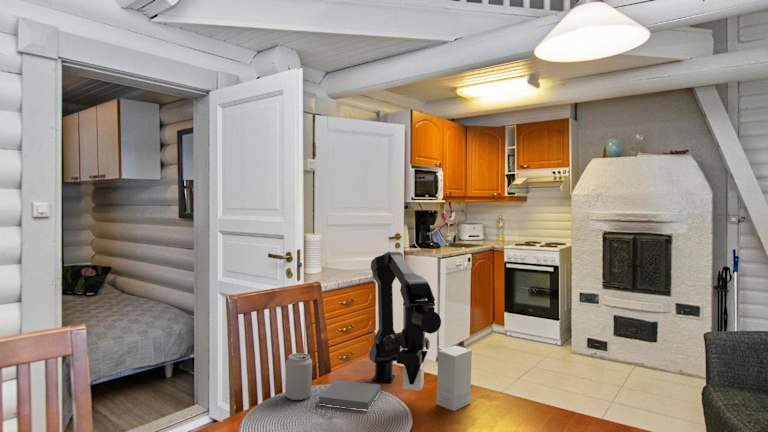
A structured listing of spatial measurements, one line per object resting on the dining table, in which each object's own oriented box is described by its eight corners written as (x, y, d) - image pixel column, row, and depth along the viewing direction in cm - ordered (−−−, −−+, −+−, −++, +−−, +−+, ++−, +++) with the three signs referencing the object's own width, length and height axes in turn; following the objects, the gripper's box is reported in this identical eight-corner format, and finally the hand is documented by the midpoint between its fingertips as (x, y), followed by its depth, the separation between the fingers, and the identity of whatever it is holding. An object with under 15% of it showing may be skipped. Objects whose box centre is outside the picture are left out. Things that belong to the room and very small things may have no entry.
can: (305, 403, 130) (306, 360, 130) (280, 400, 131) (281, 358, 131) (314, 393, 137) (316, 352, 137) (291, 391, 138) (292, 350, 138)
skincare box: (453, 397, 137) (454, 344, 137) (472, 404, 132) (473, 349, 132) (435, 405, 131) (436, 349, 131) (454, 412, 126) (455, 355, 126)
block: (406, 382, 132) (406, 361, 132) (423, 384, 131) (424, 363, 131) (402, 388, 127) (403, 366, 127) (420, 390, 126) (421, 368, 126)
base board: (336, 387, 142) (336, 379, 142) (380, 393, 138) (380, 384, 138) (318, 405, 128) (319, 396, 128) (367, 411, 125) (367, 402, 125)
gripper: (393, 316, 140) (392, 367, 140) (378, 330, 122) (376, 389, 122) (430, 318, 137) (429, 371, 137) (420, 333, 119) (418, 394, 119)
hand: (413, 380), depth 129 cm, fingers closed on block, 5 cm apart
